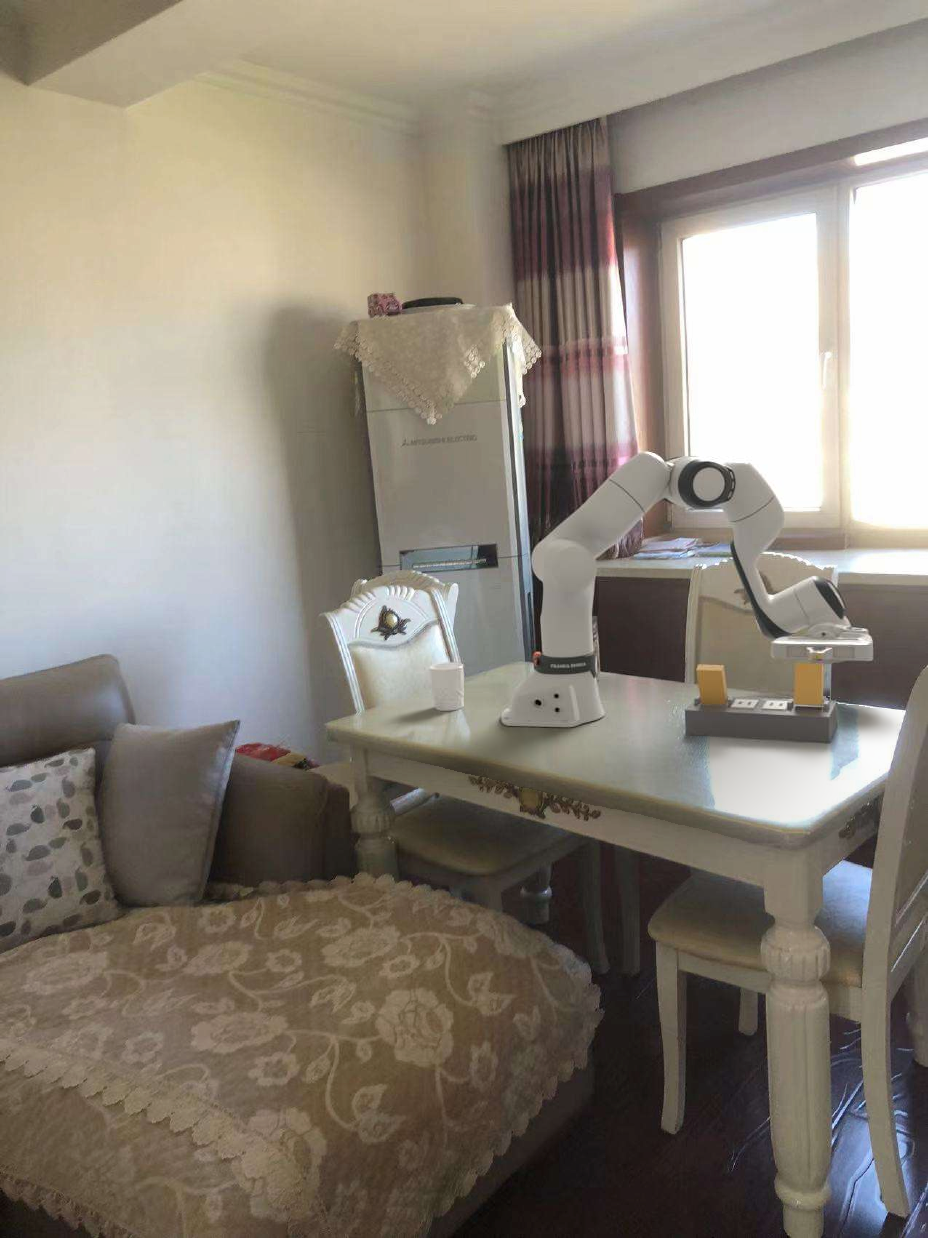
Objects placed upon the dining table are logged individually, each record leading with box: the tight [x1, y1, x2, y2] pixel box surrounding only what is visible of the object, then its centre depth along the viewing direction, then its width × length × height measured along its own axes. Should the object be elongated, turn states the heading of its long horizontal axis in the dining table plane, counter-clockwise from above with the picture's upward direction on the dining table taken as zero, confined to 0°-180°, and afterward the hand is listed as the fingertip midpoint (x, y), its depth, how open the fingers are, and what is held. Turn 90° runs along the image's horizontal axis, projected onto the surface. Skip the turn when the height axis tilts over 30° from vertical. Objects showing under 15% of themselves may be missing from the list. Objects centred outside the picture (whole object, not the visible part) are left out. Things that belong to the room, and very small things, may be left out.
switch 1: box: [695, 664, 729, 704], centre depth 198 cm, size 5×2×8 cm, turn 63°
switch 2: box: [793, 662, 825, 706], centre depth 192 cm, size 5×2×8 cm, turn 63°
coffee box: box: [592, 615, 601, 682], centre depth 245 cm, size 9×6×16 cm
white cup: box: [429, 661, 465, 712], centre depth 232 cm, size 8×8×10 cm
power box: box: [684, 694, 838, 744], centre depth 196 cm, size 27×12×6 cm, turn 63°
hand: (817, 656), depth 202 cm, fingers closed
